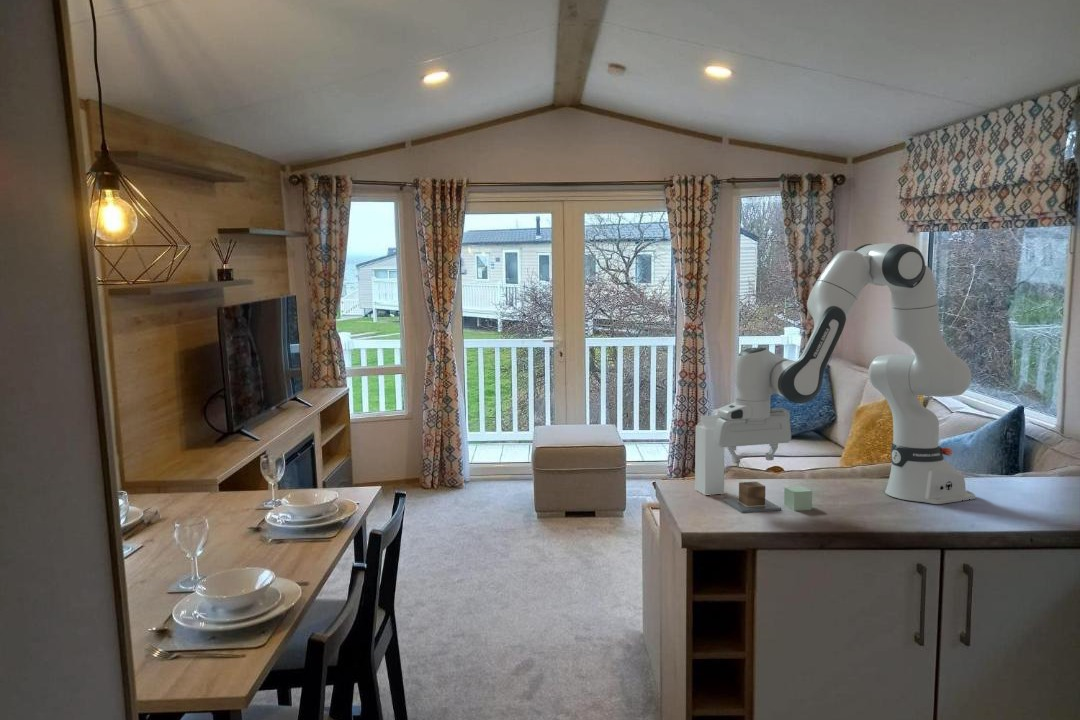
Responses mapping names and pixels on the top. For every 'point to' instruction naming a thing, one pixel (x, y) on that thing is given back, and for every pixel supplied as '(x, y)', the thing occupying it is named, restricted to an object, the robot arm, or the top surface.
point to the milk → (708, 458)
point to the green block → (798, 498)
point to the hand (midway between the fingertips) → (752, 461)
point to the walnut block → (751, 493)
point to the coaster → (743, 508)
